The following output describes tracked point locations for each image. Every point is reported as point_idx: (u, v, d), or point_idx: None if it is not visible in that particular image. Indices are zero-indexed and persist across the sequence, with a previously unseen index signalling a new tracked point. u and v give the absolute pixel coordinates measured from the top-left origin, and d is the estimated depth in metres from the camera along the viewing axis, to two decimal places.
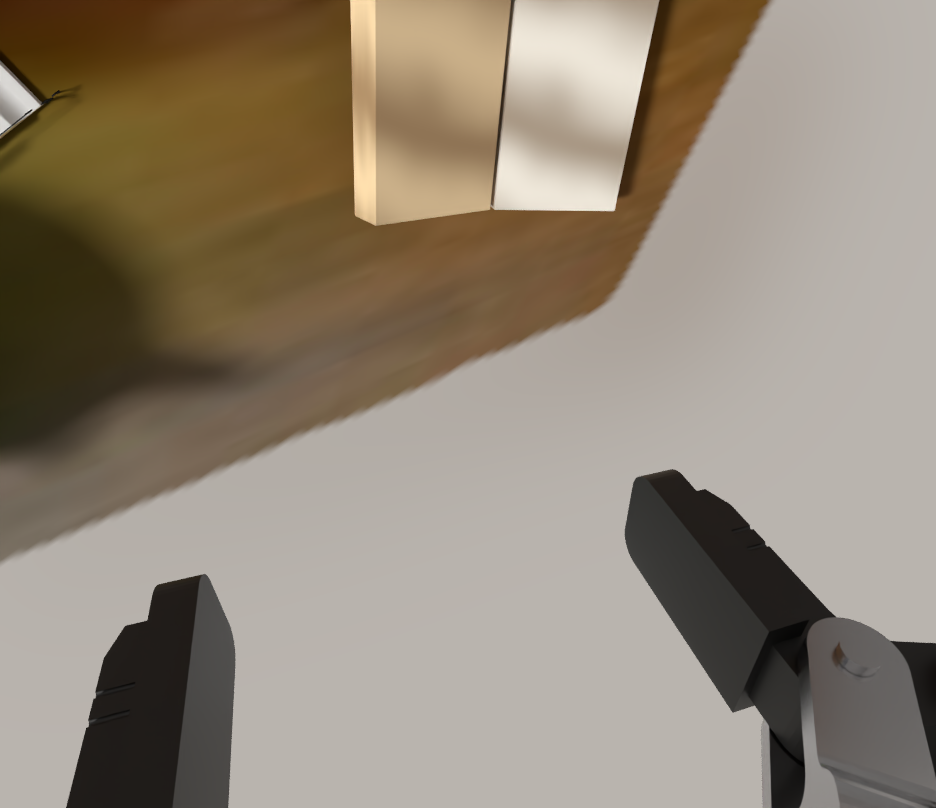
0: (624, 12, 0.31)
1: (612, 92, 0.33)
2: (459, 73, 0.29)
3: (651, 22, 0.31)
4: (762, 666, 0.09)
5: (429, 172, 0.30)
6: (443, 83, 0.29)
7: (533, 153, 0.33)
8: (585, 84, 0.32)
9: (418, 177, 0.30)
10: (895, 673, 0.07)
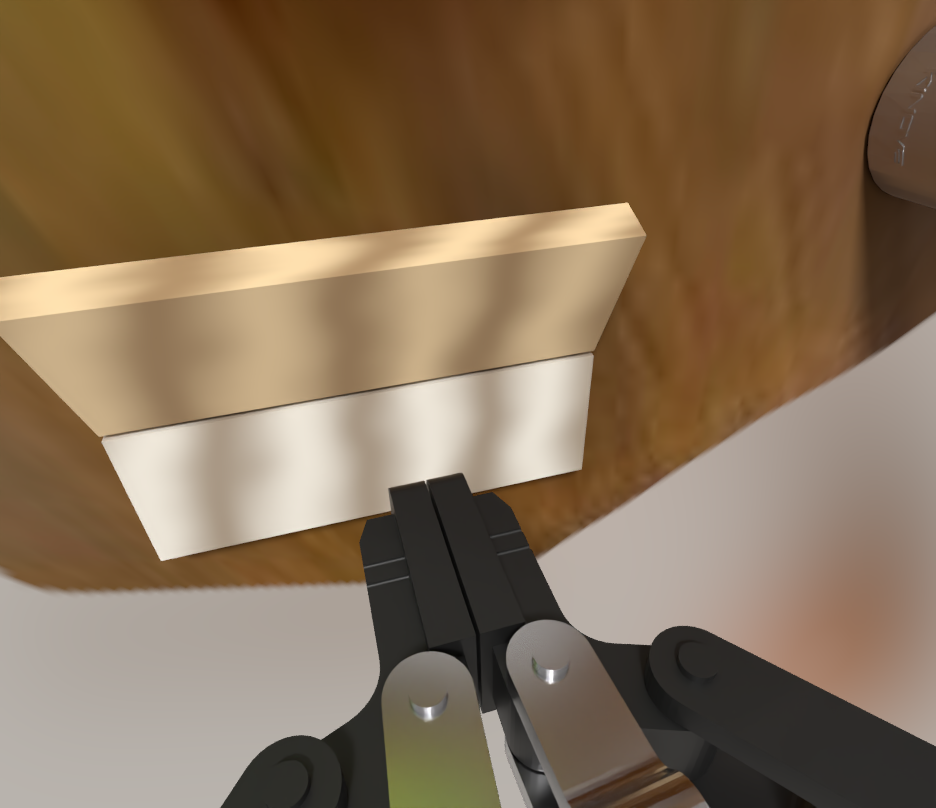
0: (351, 493, 0.32)
1: (281, 510, 0.31)
2: (245, 371, 0.25)
3: (350, 517, 0.33)
4: (490, 668, 0.09)
5: (111, 368, 0.22)
6: (226, 359, 0.24)
7: (189, 461, 0.28)
8: (280, 485, 0.30)
9: (96, 358, 0.22)
10: (579, 675, 0.08)
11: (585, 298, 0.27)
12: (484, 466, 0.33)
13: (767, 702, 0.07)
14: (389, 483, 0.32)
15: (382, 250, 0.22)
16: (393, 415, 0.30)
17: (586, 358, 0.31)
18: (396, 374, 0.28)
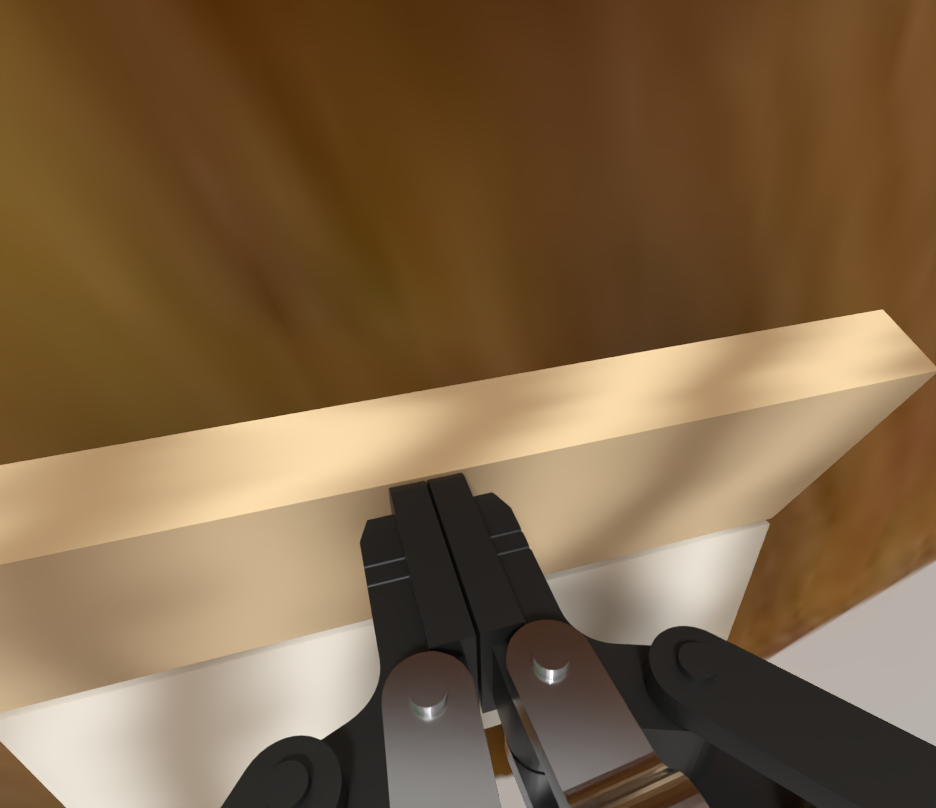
0: None
1: None
2: (226, 616, 0.14)
3: None
4: (490, 668, 0.09)
5: None
6: (191, 609, 0.13)
7: (139, 727, 0.17)
8: (287, 734, 0.19)
9: None
10: (580, 675, 0.08)
11: (795, 462, 0.16)
12: None
13: (767, 702, 0.07)
14: None
15: (479, 420, 0.12)
16: None
17: (758, 528, 0.20)
18: None
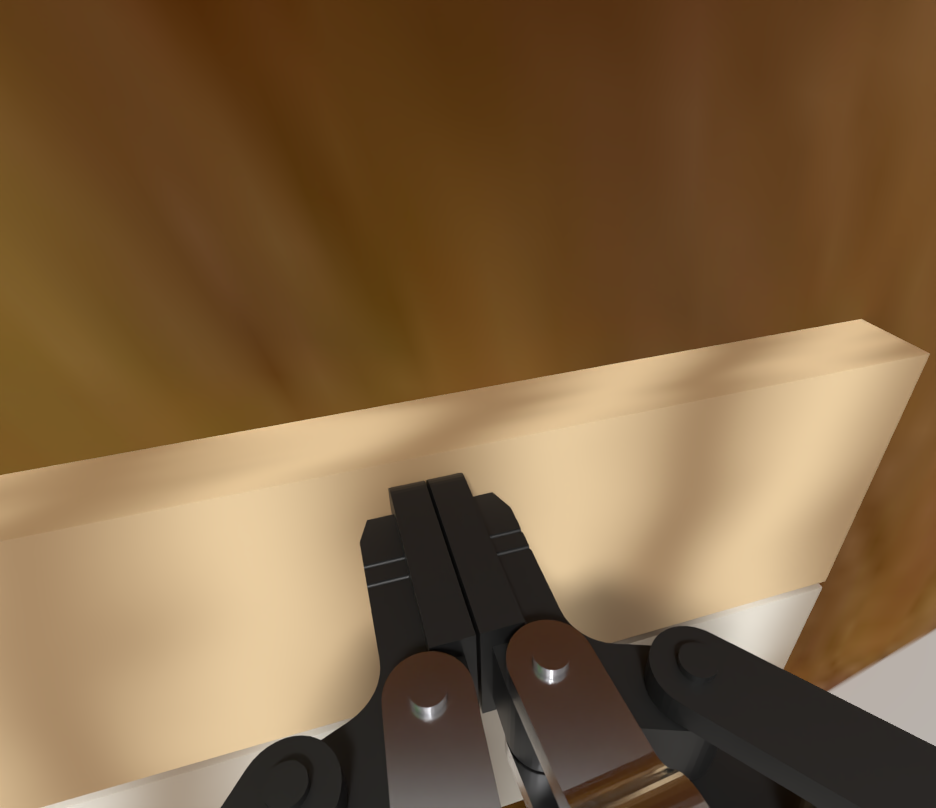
0: None
1: None
2: (220, 676, 0.13)
3: None
4: (490, 668, 0.09)
5: None
6: (182, 655, 0.12)
7: None
8: None
9: None
10: (579, 675, 0.08)
11: (820, 483, 0.15)
12: None
13: (767, 702, 0.07)
14: None
15: (473, 414, 0.12)
16: (488, 712, 0.17)
17: (810, 592, 0.18)
18: None
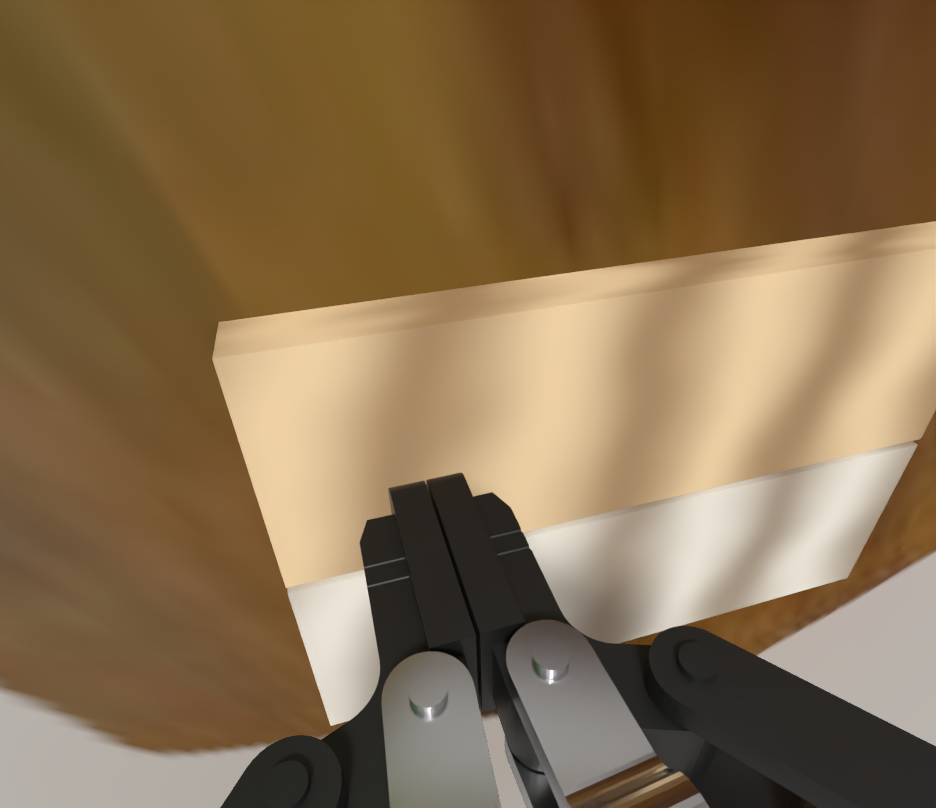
0: (581, 627, 0.23)
1: None
2: (504, 464, 0.17)
3: None
4: (490, 668, 0.09)
5: (340, 453, 0.16)
6: (488, 441, 0.17)
7: None
8: None
9: (328, 432, 0.15)
10: (580, 675, 0.08)
11: (932, 344, 0.20)
12: (743, 584, 0.25)
13: (767, 702, 0.07)
14: (629, 612, 0.24)
15: (700, 268, 0.17)
16: (661, 532, 0.21)
17: (908, 448, 0.23)
18: (682, 476, 0.20)
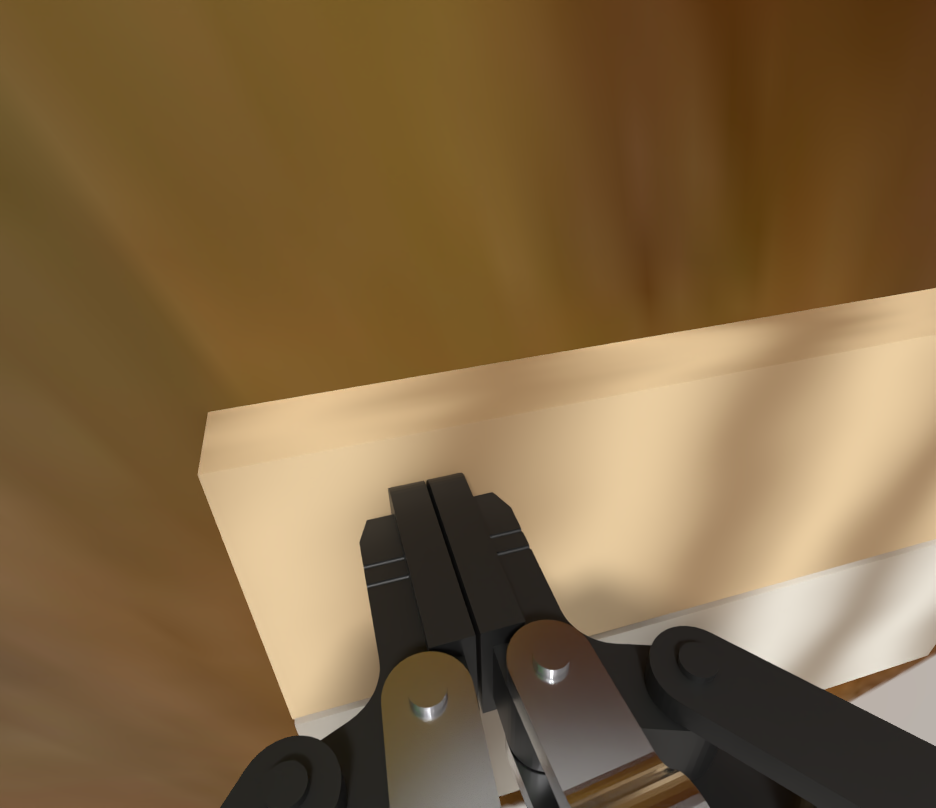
0: None
1: None
2: (561, 570, 0.14)
3: None
4: (490, 667, 0.09)
5: (362, 571, 0.12)
6: (543, 547, 0.13)
7: None
8: None
9: (348, 550, 0.12)
10: (580, 675, 0.08)
11: None
12: (815, 670, 0.22)
13: (767, 702, 0.07)
14: None
15: (807, 331, 0.13)
16: (733, 627, 0.18)
17: None
18: (765, 568, 0.17)
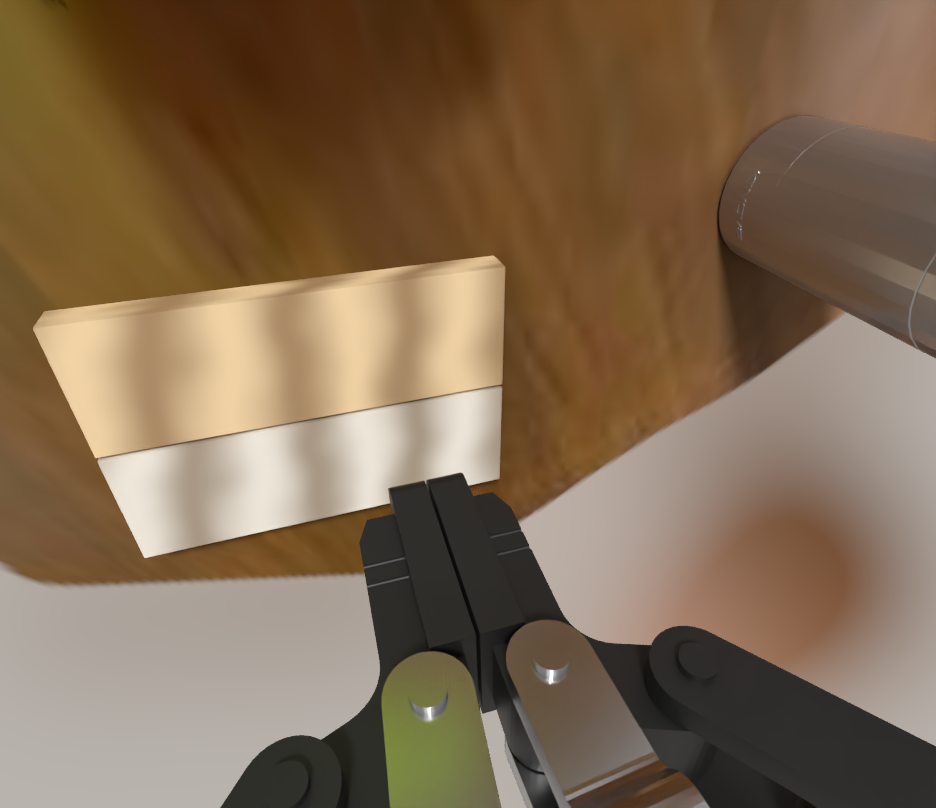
0: (304, 500, 0.38)
1: (245, 515, 0.38)
2: (214, 389, 0.32)
3: (304, 520, 0.39)
4: (490, 668, 0.09)
5: (112, 379, 0.30)
6: (200, 375, 0.32)
7: (169, 476, 0.34)
8: (244, 495, 0.37)
9: (103, 368, 0.30)
10: (580, 675, 0.08)
11: (476, 326, 0.35)
12: (416, 477, 0.40)
13: (767, 702, 0.07)
14: (336, 491, 0.39)
15: (313, 284, 0.32)
16: (337, 437, 0.36)
17: (496, 390, 0.38)
18: (337, 401, 0.35)
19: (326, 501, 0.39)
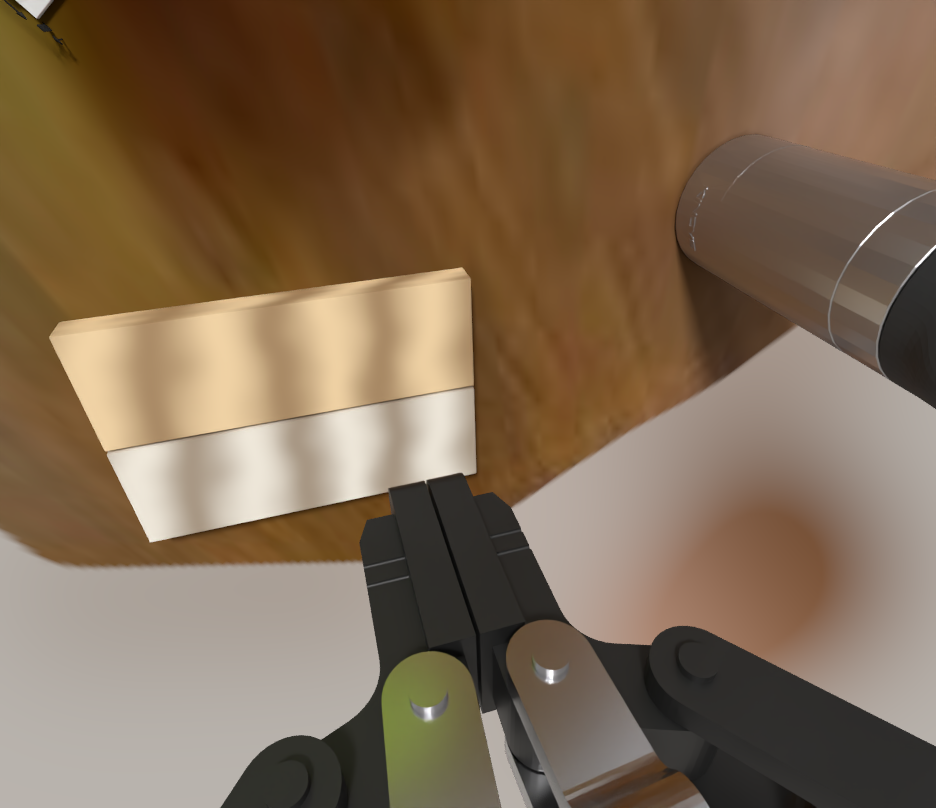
0: (294, 491, 0.42)
1: (240, 504, 0.41)
2: (208, 390, 0.36)
3: (294, 509, 0.43)
4: (490, 668, 0.09)
5: (118, 381, 0.34)
6: (195, 378, 0.35)
7: (170, 468, 0.38)
8: (239, 485, 0.40)
9: (110, 371, 0.34)
10: (580, 675, 0.08)
11: (446, 332, 0.38)
12: (397, 471, 0.44)
13: (767, 702, 0.07)
14: (323, 484, 0.42)
15: (295, 296, 0.35)
16: (322, 434, 0.40)
17: (468, 390, 0.41)
18: (320, 401, 0.39)
19: (314, 492, 0.43)
